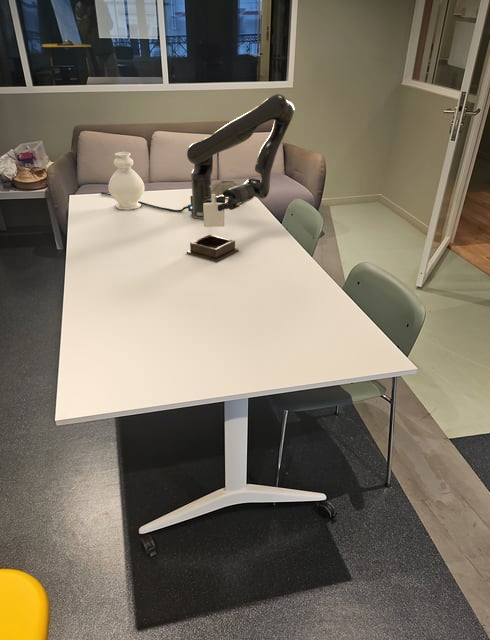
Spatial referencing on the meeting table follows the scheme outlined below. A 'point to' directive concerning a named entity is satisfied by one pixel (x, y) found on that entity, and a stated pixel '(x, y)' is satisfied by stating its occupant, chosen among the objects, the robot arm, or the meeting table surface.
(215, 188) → the decorative shell
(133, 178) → the decorative vase
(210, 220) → the perfume bottle
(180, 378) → the meeting table surface
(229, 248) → the bottle stand
